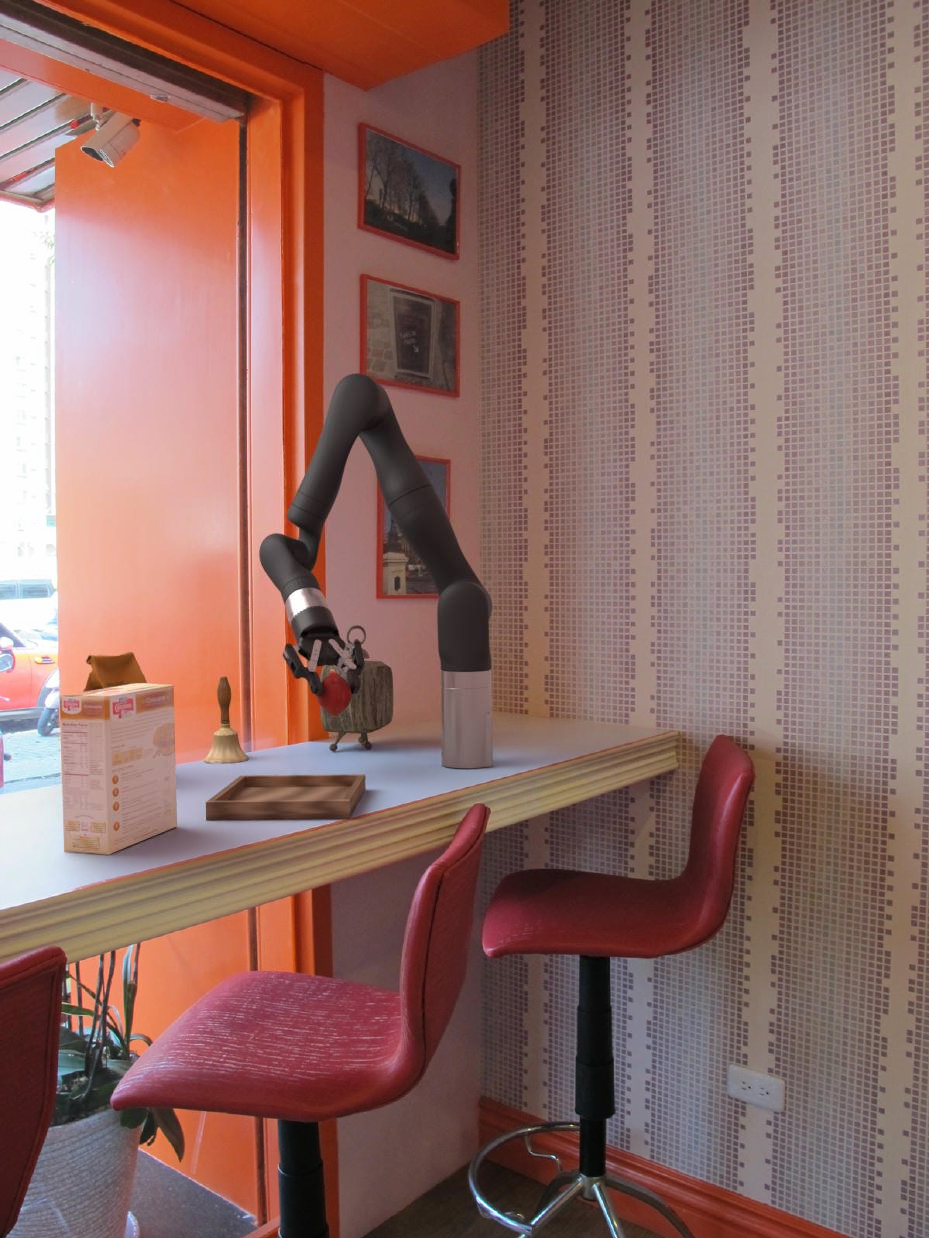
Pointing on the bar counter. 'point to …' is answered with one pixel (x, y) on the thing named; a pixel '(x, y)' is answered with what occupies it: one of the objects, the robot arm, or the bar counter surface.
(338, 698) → the onion
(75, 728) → the coffeecake box
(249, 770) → the bar counter surface
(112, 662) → the coffee package
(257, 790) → the walnut tray
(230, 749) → the hand bell
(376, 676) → the tabletop clock
